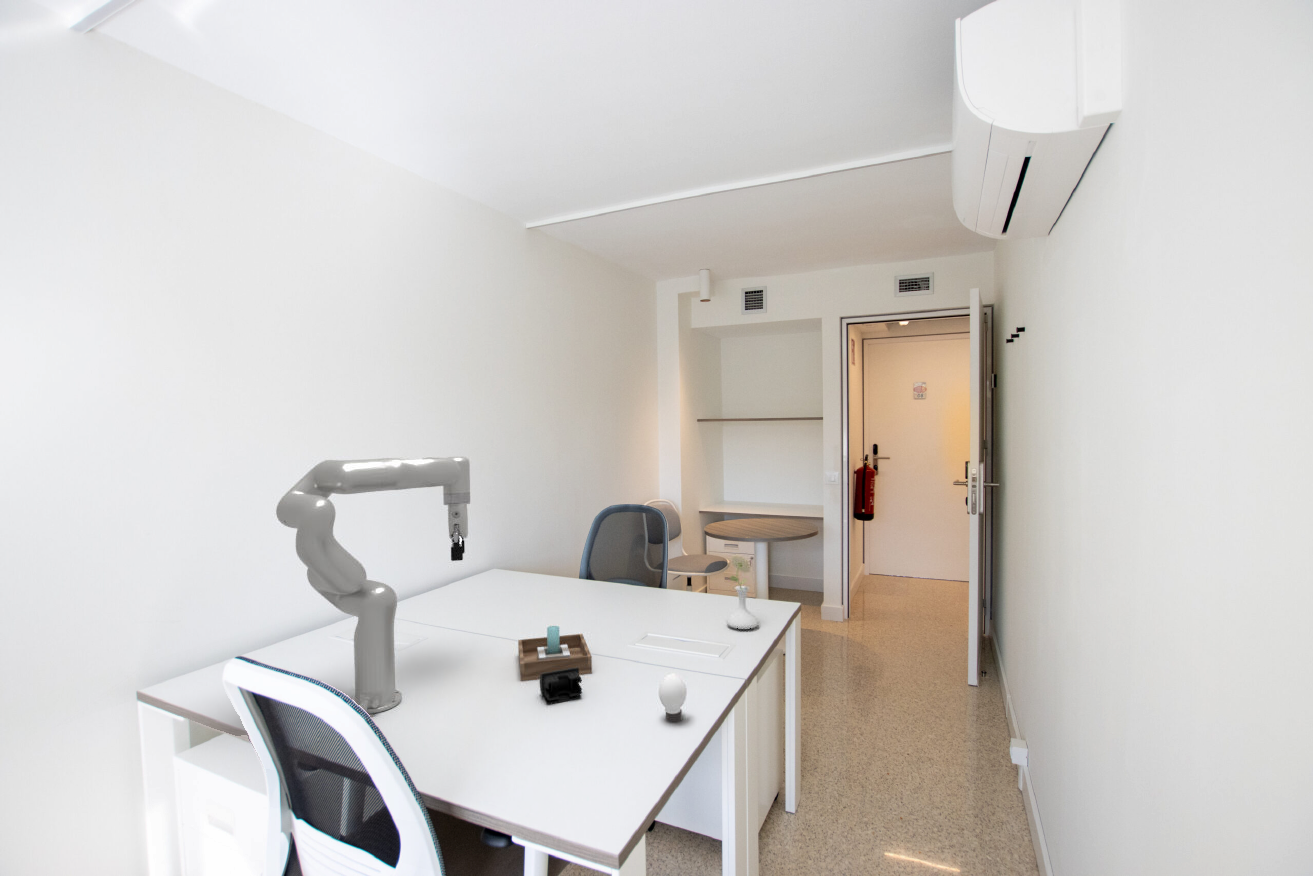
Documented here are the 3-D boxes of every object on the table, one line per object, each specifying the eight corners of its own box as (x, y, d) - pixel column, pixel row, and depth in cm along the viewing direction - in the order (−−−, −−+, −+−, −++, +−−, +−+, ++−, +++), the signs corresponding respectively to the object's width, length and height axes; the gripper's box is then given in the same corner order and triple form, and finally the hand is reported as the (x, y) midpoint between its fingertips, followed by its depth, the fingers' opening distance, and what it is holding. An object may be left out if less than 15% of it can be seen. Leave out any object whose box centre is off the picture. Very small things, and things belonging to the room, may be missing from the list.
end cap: (576, 688, 171) (575, 663, 171) (583, 699, 164) (582, 673, 164) (539, 695, 167) (539, 670, 167) (545, 706, 160) (545, 680, 160)
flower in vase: (765, 629, 217) (764, 557, 216) (736, 634, 213) (735, 560, 212) (746, 618, 229) (745, 550, 228) (718, 622, 225) (717, 553, 224)
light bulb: (692, 718, 153) (691, 673, 152) (674, 728, 148) (674, 682, 147) (671, 710, 157) (670, 666, 157) (653, 719, 152) (652, 674, 152)
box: (591, 673, 181) (591, 656, 180) (520, 681, 176) (520, 663, 176) (582, 649, 200) (582, 633, 200) (518, 655, 195) (518, 639, 195)
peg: (560, 662, 187) (559, 629, 186) (548, 663, 186) (547, 630, 185) (559, 658, 190) (558, 625, 190) (547, 659, 189) (546, 626, 189)
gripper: (468, 501, 176) (470, 562, 177) (471, 495, 193) (472, 550, 194) (440, 503, 174) (442, 564, 175) (445, 496, 191) (446, 552, 192)
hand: (458, 556), depth 184 cm, fingers open, 9 cm apart
